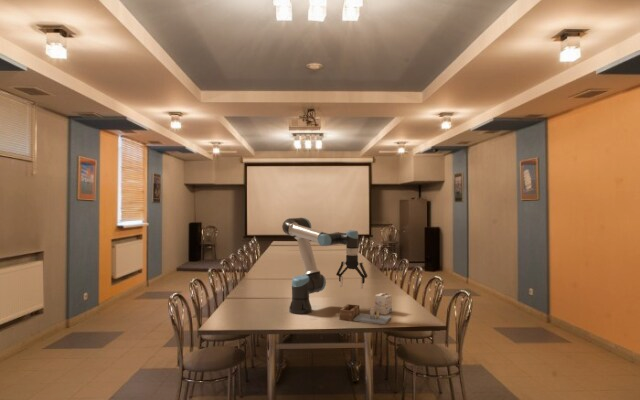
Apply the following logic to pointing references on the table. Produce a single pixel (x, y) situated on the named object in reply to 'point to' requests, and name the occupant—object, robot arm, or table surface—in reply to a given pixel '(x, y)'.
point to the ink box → (383, 303)
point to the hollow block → (349, 312)
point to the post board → (370, 320)
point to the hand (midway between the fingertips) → (351, 287)
